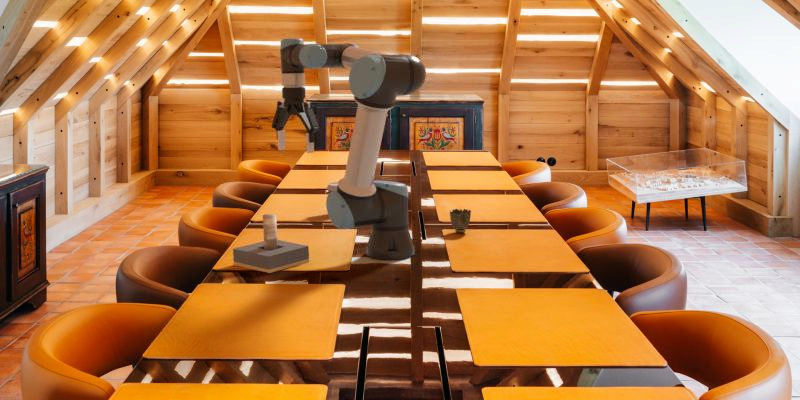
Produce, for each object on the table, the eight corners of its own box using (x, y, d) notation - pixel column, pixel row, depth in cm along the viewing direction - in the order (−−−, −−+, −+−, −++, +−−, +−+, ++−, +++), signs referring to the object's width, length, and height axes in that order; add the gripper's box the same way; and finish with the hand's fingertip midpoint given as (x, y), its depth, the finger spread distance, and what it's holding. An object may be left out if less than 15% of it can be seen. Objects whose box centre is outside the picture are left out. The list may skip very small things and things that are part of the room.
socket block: (309, 261, 251) (308, 245, 250) (269, 273, 239) (268, 256, 238) (273, 254, 261) (272, 238, 260) (233, 264, 249) (233, 248, 248)
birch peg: (280, 259, 250) (279, 214, 248) (270, 262, 247) (269, 216, 245) (271, 257, 253) (270, 213, 250) (262, 260, 250) (260, 215, 247)
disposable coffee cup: (351, 216, 319) (350, 185, 317) (326, 216, 320) (325, 186, 317) (352, 211, 329) (351, 181, 327) (328, 211, 329) (328, 182, 327)
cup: (457, 229, 293) (457, 207, 291) (475, 232, 288) (475, 209, 287) (445, 233, 287) (445, 210, 286) (462, 236, 283) (462, 213, 281)
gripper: (329, 86, 263) (331, 152, 267) (276, 85, 279) (278, 147, 283) (312, 87, 258) (314, 155, 262) (259, 86, 273) (262, 149, 277)
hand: (295, 151), depth 272 cm, fingers open, 13 cm apart
